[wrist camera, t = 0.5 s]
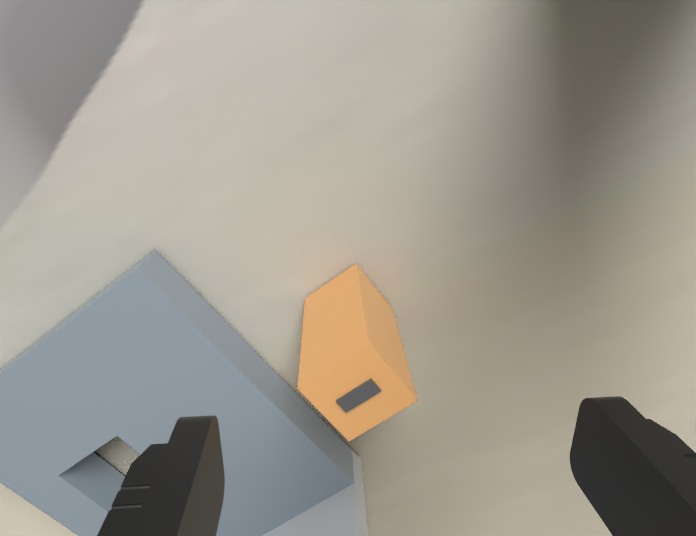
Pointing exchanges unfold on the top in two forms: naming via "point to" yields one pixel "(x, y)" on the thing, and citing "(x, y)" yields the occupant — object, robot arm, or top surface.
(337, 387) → the block
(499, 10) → the top surface
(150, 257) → the grey slotted stand
